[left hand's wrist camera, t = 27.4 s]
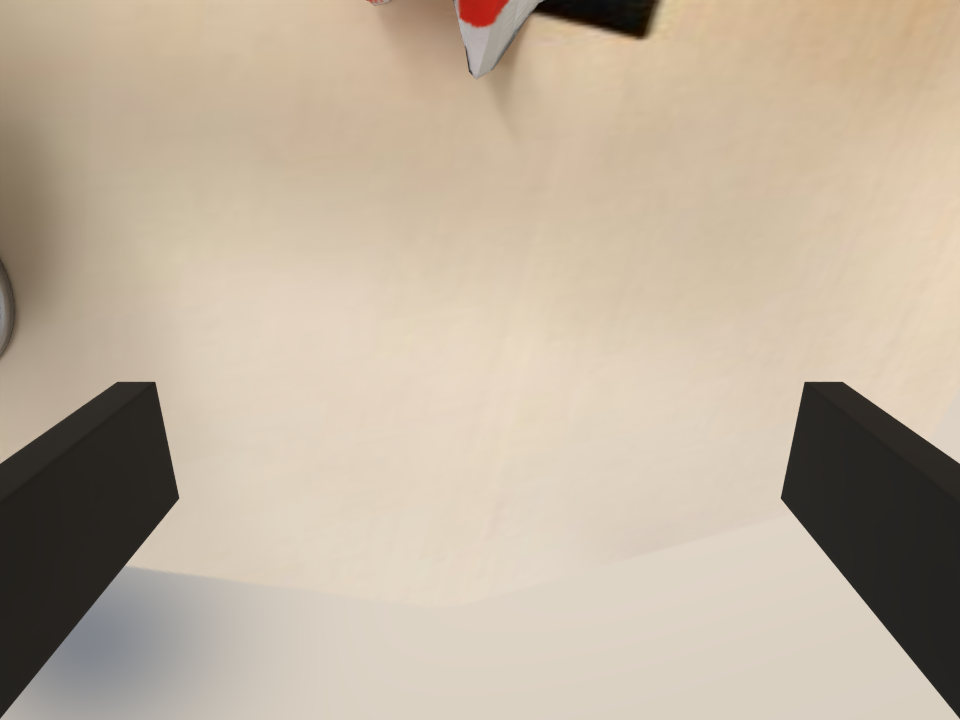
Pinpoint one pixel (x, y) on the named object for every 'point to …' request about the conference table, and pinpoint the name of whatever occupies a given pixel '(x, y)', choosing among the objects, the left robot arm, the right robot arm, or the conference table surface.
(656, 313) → the conference table surface
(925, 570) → the left robot arm
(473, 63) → the fish
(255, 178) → the conference table surface
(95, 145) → the conference table surface
